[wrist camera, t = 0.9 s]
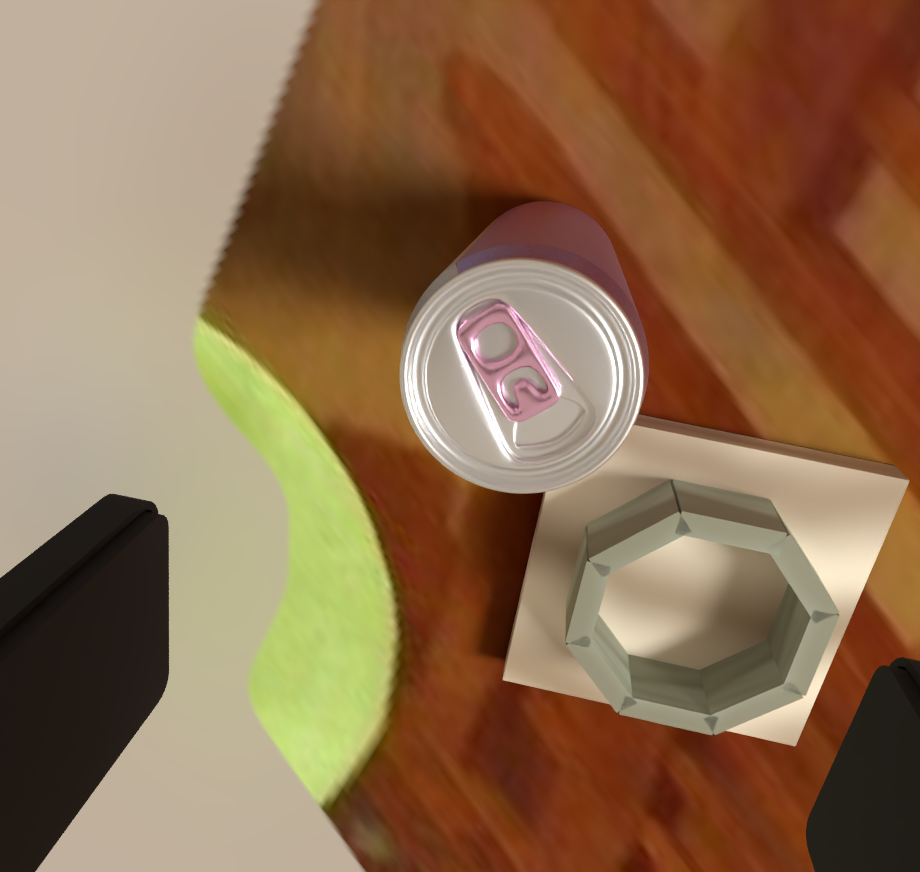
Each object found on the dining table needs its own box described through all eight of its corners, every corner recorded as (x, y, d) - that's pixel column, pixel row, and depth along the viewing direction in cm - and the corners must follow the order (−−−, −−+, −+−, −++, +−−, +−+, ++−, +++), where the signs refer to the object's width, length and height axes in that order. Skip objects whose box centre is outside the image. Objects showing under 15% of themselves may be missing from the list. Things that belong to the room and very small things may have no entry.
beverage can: (571, 169, 30) (569, 195, 16) (644, 301, 31) (700, 431, 17) (443, 250, 31) (341, 338, 18) (517, 372, 33) (476, 541, 19)
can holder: (565, 399, 33) (564, 437, 29) (894, 465, 32) (942, 514, 28) (505, 660, 38) (497, 723, 34) (787, 723, 37) (813, 796, 33)
